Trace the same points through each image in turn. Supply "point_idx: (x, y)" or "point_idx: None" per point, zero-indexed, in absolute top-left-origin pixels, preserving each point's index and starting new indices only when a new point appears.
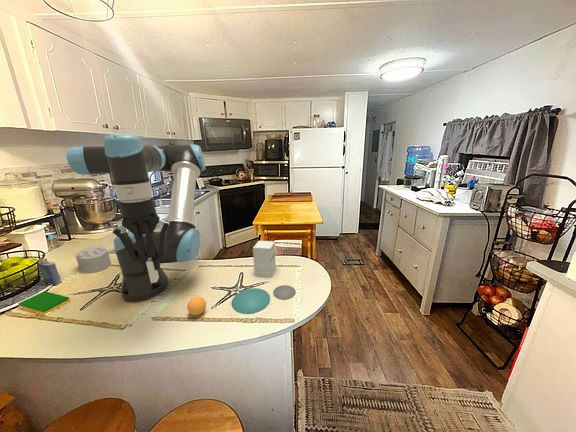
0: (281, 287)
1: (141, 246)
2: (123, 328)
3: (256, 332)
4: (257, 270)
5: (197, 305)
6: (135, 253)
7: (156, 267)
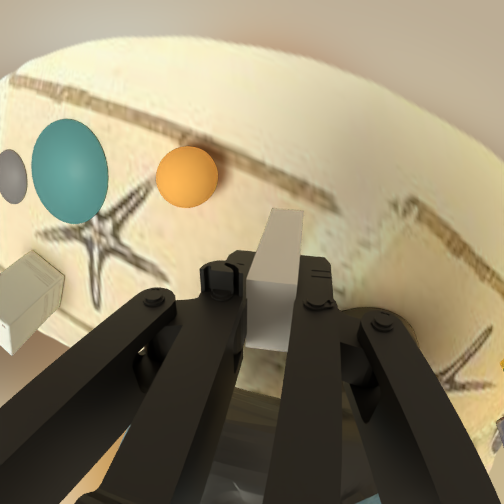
0: (13, 196)
1: (290, 429)
2: (411, 200)
3: (67, 54)
4: (47, 279)
5: (173, 156)
6: (375, 396)
7: (244, 260)
